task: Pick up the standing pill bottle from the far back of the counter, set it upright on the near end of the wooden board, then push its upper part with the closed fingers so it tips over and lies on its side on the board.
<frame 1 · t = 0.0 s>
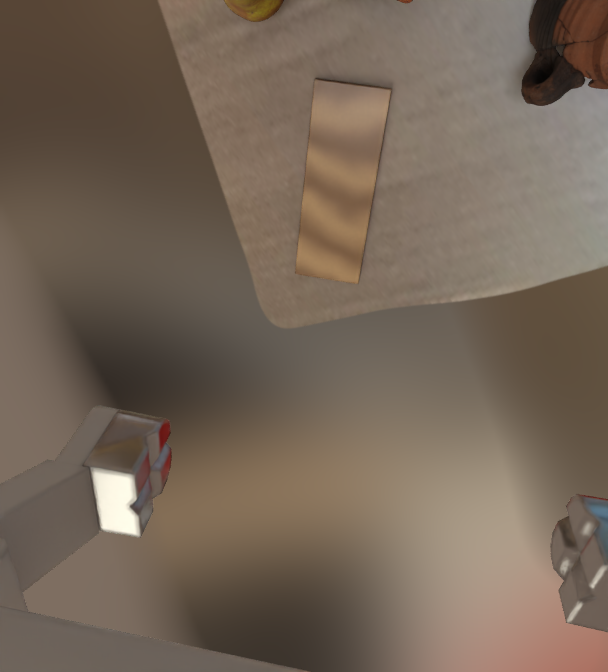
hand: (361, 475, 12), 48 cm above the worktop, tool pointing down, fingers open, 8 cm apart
pottery mug: (578, 34, 48), on the worktop
wooden board: (338, 189, 58), on the worktop
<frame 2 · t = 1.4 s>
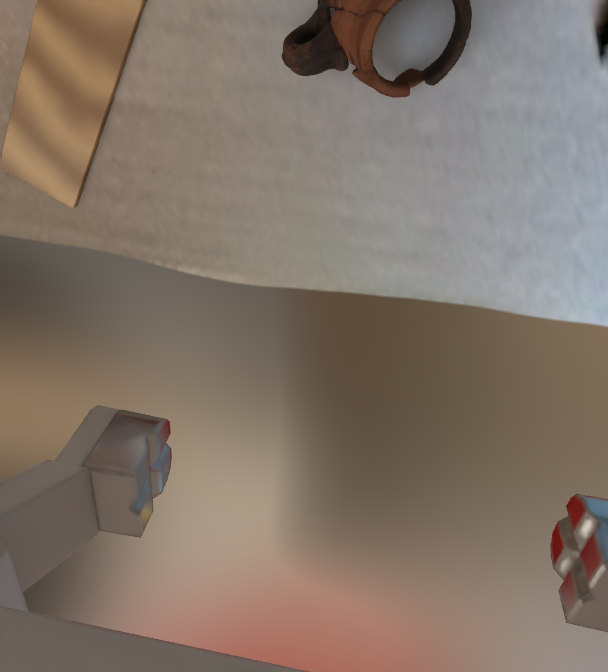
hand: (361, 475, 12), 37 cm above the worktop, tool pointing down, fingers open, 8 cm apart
pottery mug: (373, 14, 40), on the worktop
wooden board: (69, 82, 45), on the worktop
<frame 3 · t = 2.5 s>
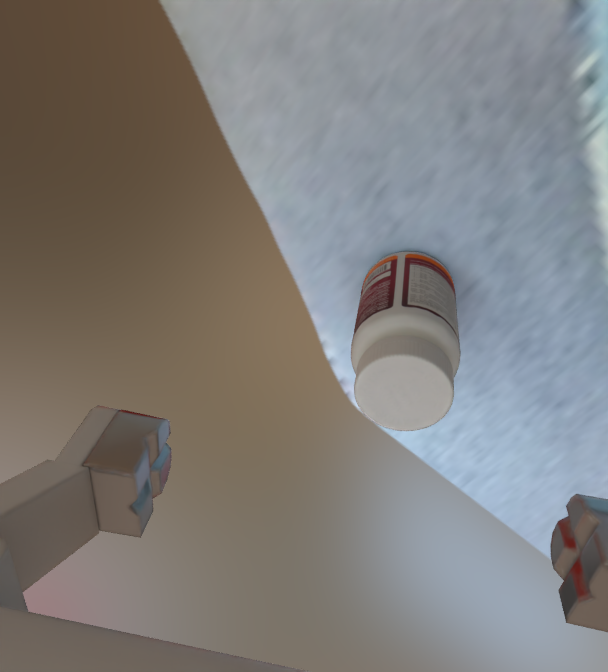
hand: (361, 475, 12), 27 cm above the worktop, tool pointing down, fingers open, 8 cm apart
pill bottle: (408, 287, 39), on the worktop
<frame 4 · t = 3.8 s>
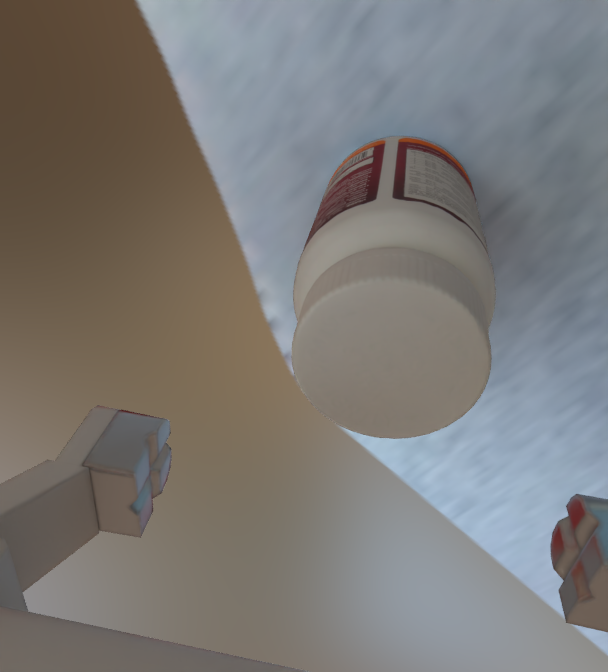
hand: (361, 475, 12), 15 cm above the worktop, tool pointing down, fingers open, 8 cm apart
pill bottle: (398, 205, 24), on the worktop
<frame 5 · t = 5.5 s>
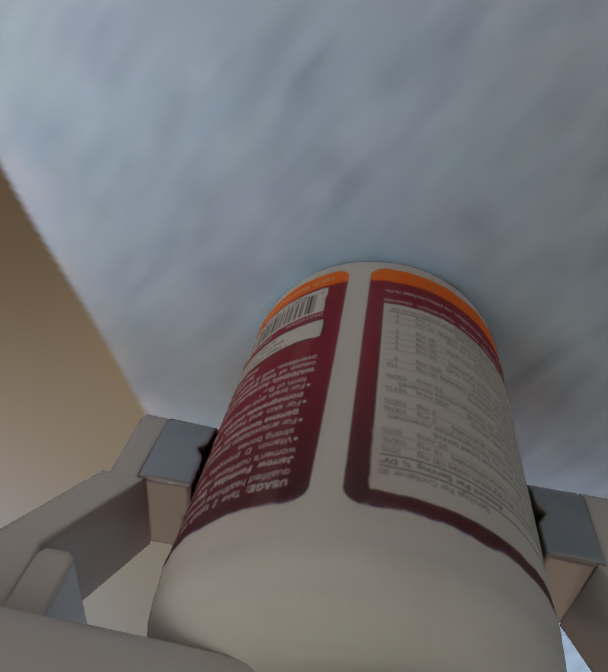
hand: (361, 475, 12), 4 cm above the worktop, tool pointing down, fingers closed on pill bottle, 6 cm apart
pill bottle: (375, 354, 15), on the worktop, touching gripper
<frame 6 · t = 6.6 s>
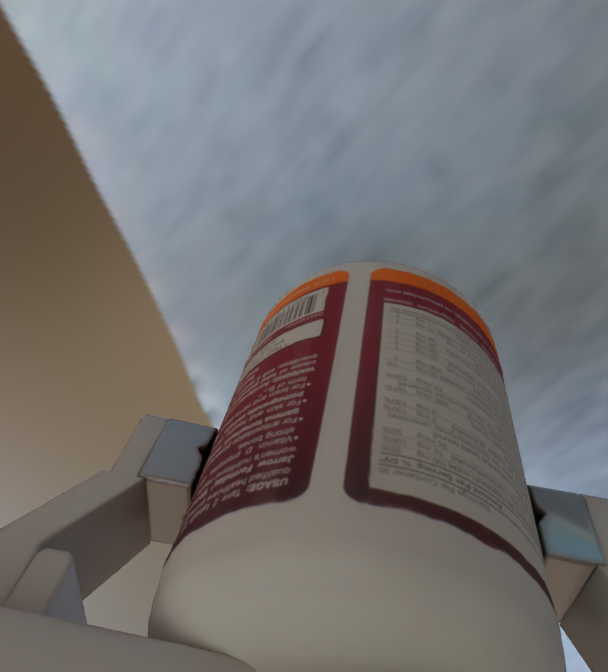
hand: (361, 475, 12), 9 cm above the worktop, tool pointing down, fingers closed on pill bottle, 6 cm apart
pill bottle: (375, 353, 15), point 4 cm above the worktop, touching gripper
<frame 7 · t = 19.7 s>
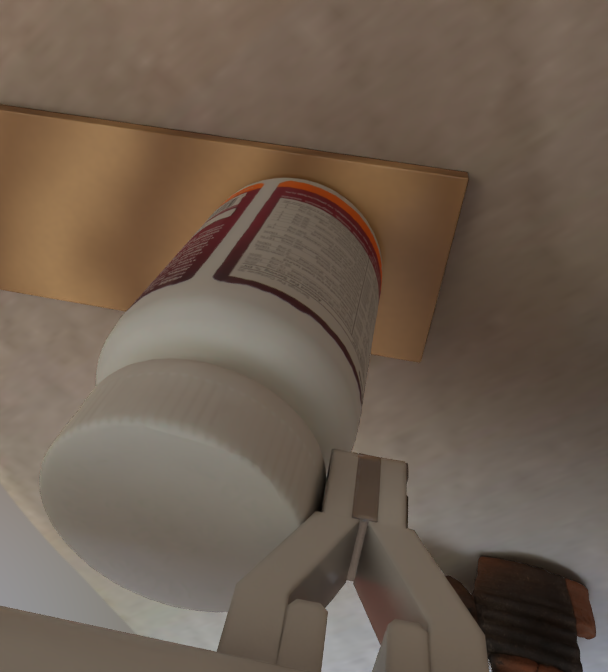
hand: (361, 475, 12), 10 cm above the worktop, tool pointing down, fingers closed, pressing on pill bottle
pottery mug: (479, 598, 29), on the worktop
wooden board: (161, 227, 21), on the worktop
pill bottle: (296, 258, 20), resting on wooden board, touching gripper
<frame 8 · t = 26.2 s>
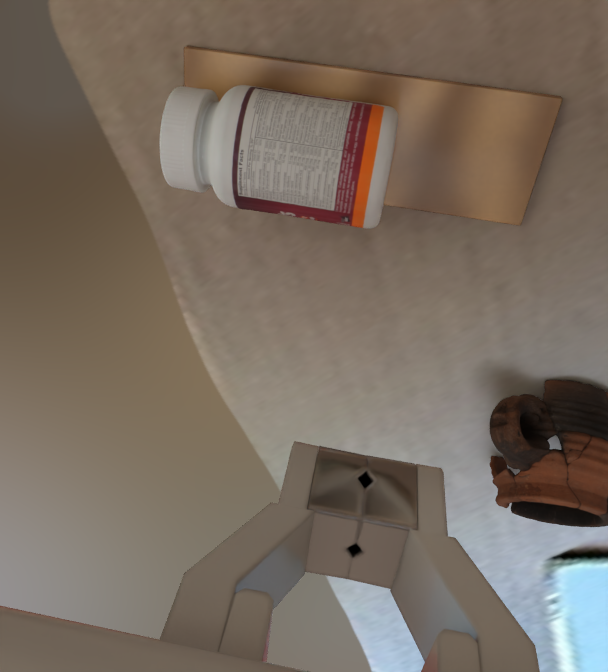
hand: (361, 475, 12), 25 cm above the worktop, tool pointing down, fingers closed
pottery mug: (541, 419, 42), on the worktop
wooden board: (359, 137, 32), on the worktop
pill bottle: (392, 171, 30), point 4 cm above the worktop, touching wooden board
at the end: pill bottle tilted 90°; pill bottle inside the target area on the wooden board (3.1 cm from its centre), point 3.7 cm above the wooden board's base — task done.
